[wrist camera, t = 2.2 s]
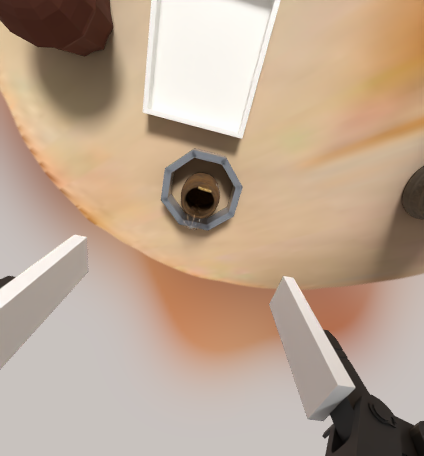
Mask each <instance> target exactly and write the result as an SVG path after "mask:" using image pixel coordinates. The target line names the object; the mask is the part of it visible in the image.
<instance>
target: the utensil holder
mask: <svg viewBox="0 0 424 456" xmlns="http://www.w3.org/2000/svg"><path fill="white" fill-rule="evenodd" d="M219 199H220V191H219V186H218V183H217V181H216V180H215V179H214V178H213V177H212V176H211V175H209V174H206V173H196V174H194V175H192V176H190V177H189V178H188V179H187V181H186V182H185V184H184V186H183V188H182V191H181V203H182V207H183V209H184V211H185V212H186V213H187V214H188V215H189V216H191V217H193V218H198V219H202V218H206V217H208V216H210V215H211V214H212V213H213V212H214V211H215V209H216V207H217V205H218V203H219ZM185 215H186V214H185ZM184 218H185V217H184ZM187 218H188V217H187ZM186 220H187V219H186ZM193 220H194V219H192V221H193ZM199 221H200V220H199ZM199 221H198V222H199ZM188 222H189V221H188ZM201 222H202V221H201ZM184 223H185V224H186V222H184ZM192 223H193V222H192ZM192 223H191V224H192ZM186 225H187V224H186ZM195 225H196V224H195ZM195 225H194V226H195ZM187 226H188V225H187ZM191 226H192V225H191ZM197 226H198V224H197ZM199 227H200V226H199ZM189 228H190V229H191V228H196V229H197V228H198V227H193V226H192V227H190V226H189ZM193 230H194V229H193Z"/></svg>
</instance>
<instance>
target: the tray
mask: <svg viewBox="0 0 424 456" xmlns="http://www.w3.org/2000/svg"><path fill="white" fill-rule="evenodd" d="M279 4H280V0H151V12H150V25H149V38H148V51H147V64H146V77H145V90H144V103H143V113H146V114H150V115H154V116H158V117H161V118H165V119H169V120H173V121H176V122H180V123H184V124H188V125H192V126H195V127H199V128H203V129H207V130H210V131H214V132H218V133H222V134H226V135H229V136H233V137H237V138H241V139H242V137H243V134H244V130H245V127H246V123H247V119H248V116H249V112H250V108H251V105H252V101H253V98H254V94H255V90H256V87H257V83H258V80H259V76H260V72H261V69H262V65H263V61H264V58H265V54H266V51H267V47H268V43H269V40H270V36H271V32H272V29H273V25H274V22H275V18H276V14H277V11H278V7H279Z"/></svg>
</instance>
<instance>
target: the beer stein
mask: <svg viewBox="0 0 424 456" xmlns="http://www.w3.org/2000/svg"><path fill="white" fill-rule="evenodd" d="M403 206H404V208H405V210H406V212H408V213H409V214H410V215H411V216H413V217H415V218H419V219H424V166H423V167H422V168H420V169H419V170H418V171H417V172H416V173H415V174H414V175H413V177H412V178H411V179H410V180H409V182H408V184H407V185H406V188H405V190H404V193H403Z"/></svg>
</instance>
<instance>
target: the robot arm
mask: <svg viewBox="0 0 424 456" xmlns="http://www.w3.org/2000/svg"><path fill="white" fill-rule="evenodd" d="M87 273H88V249H87V237H83V236H79V235H73V236H72V237H71V238H69V239H68V240H66V241H65V242H64V243H62V244H61V245H60V246H58V247H57V248H55V249H54V250H53V251H51V252H50V253H49V254H47V255H46V256H44V257H43V258H42V259H41V260H39V261H38V262H36V263H35V264H34V265H32V266H31V267H29V268H28V269H27V270H26V271H24V272H23V273H21V274H20V275H19V276H17V277H13V276H7V277H5V278H3V279H0V369H1V368H2V367H3V366H4V365H5V364H6V362H7V361H8V360H9V359H10V358H11V357H12V356H13V355H14V354H15V353H16V352H17V350H18V349H19V348H20V347H21V346H22V345H23V344H24V343H25V341H26V340H27V339H28V338H29V337H30V336H31V335H32V334H33V333H34V332H35V330H36V329H37V328H38V327H39V326H40V325H41V324H42V323H43V322H44V320H45V319H46V318H47V317H48V316H49V315H50V314H51V313H52V312H53V310H54V309H55V308H56V307H57V306H58V305H59V304H60V303H61V302H62V300H63V299H64V298H65V297H66V296H67V295H68V294H69V293H70V292H71V290H72V289H73V288H74V287H75V286H76V285H77V284H78V283H79V282H80V280H81V279H82V278H83V277H84V276H85V275H86V274H87ZM269 305H270V308H271V311H272V314H273V317H274V320H275V323H276V326H277V329H278V332H279V335H280V338H281V341H282V344H283V347H284V350H285V353H286V356H287V359H288V362H289V365H290V368H291V371H292V374H293V377H294V380H295V383H296V386H297V389H298V392H299V395H300V398H301V401H302V404H303V407H304V410H305V413H306V416H307V418H308V419H310V420H318V421H324V420H325V419H326V418H327V417H328V416H329V415H330V416H331V418H332V420H333V423H334V424H333V425H331V427H329V428H328V429H327V430H326V431H325V432H324V434H323V437H324V438H326V437H327V436H328V435H329V439H328V444H327V450H326V455H325V456H424V421H420V422H419V423H417V424H416V425H415V426H414V425H412V424H410V423H408V422H406V421H404V420H402V419H400V418H398V417H396V416H394V415H393V413H392V412H391V410H390V409H389V408H388V407H387V406H386V405H385V404H384V403H383V402H382V401H381V400H380V399H378V398H376V397H375V396H373V395H370V394H369V392H368V391H367V389H366V387H365V386H364V384H363V382H362V381H361V379H360V377H359V376H358V374H357V372H356V371H355V369H354V368H353V366H352V364H351V363H350V361H349V360H348V359H347V356H346V354H345V353H344V352H343V351H342V350H343V349H342V348H341V346H340V344H339V343H338V341H337V340H336V338H335V337H334V336H333V335H332V334H331V333H330V332H329V331H328V330H323V329H322V327H321V326H320V324H319V322H318V320H317V319H316V317H315V315H314V313H313V312H312V310H311V308H310V306H309V305H308V303H307V301H306V299H305V297H304V296H303V294H302V292H301V290H300V288H299V287H298V285H297V283H296V281H295V280H294V278H291V277H286V276H283V277H282V279H281V281H280V284H279V286H278V288H277V290H276V292H275V294H274V296H273V298H272V300H271V302H270V304H269Z"/></svg>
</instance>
